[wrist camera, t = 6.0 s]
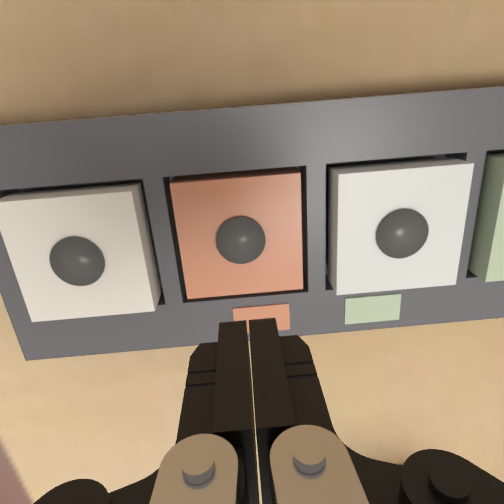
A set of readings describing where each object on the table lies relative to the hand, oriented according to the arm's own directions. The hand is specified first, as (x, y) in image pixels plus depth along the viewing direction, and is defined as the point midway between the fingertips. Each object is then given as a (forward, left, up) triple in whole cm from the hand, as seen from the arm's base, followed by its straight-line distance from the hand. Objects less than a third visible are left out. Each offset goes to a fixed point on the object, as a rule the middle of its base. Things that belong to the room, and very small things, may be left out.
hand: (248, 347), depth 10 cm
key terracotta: (0, 0, -11) cm, 11 cm away
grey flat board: (0, +4, -11) cm, 12 cm away
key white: (0, +7, -10) cm, 12 cm away
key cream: (0, -8, -10) cm, 12 cm away
